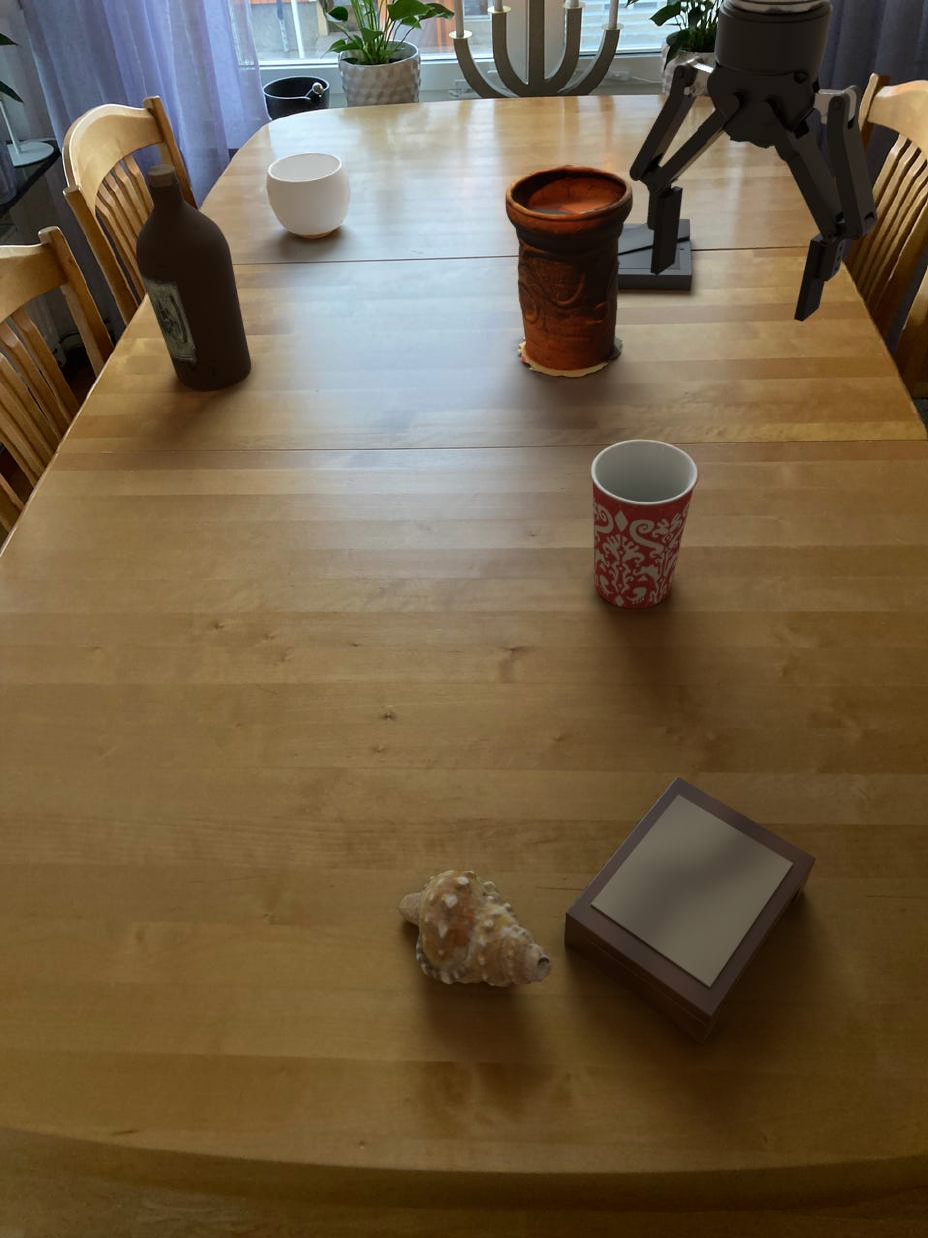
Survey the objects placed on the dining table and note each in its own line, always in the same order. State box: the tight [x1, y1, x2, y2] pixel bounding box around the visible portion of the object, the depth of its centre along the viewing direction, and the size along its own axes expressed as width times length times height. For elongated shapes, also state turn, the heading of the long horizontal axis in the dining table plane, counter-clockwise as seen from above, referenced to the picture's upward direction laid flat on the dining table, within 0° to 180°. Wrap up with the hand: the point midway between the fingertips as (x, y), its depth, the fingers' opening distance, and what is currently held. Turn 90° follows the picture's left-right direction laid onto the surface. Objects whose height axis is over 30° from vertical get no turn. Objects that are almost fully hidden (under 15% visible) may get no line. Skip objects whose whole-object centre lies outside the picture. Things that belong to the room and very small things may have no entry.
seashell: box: [398, 869, 553, 988], centre depth 66 cm, size 9×8×10 cm
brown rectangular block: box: [563, 775, 816, 1045], centre depth 67 cm, size 11×14×5 cm
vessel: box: [504, 164, 634, 378], centre depth 115 cm, size 14×14×20 cm
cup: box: [265, 151, 352, 240], centre depth 147 cm, size 12×12×10 cm
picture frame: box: [618, 218, 693, 291], centre depth 137 cm, size 16×3×21 cm
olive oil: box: [135, 163, 252, 392], centre depth 114 cm, size 11×11×25 cm
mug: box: [590, 439, 699, 610], centre depth 88 cm, size 13×9×14 cm
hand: (731, 290), depth 81 cm, fingers open, 13 cm apart
